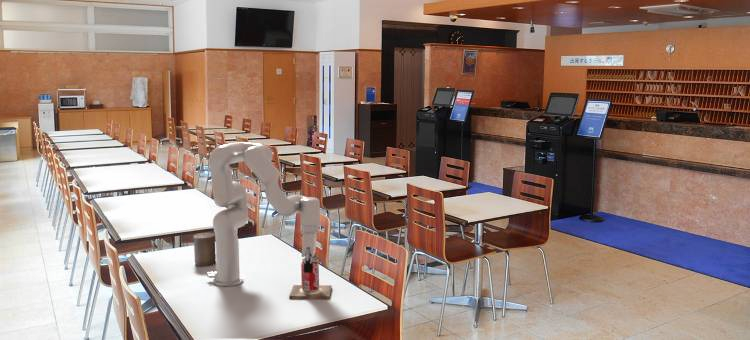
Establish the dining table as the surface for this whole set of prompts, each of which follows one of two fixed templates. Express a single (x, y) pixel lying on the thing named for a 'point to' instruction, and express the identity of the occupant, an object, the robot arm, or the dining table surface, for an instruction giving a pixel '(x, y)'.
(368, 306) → the dining table surface
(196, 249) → the pillar candle
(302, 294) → the board
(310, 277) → the soda can
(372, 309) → the dining table surface
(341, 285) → the dining table surface
